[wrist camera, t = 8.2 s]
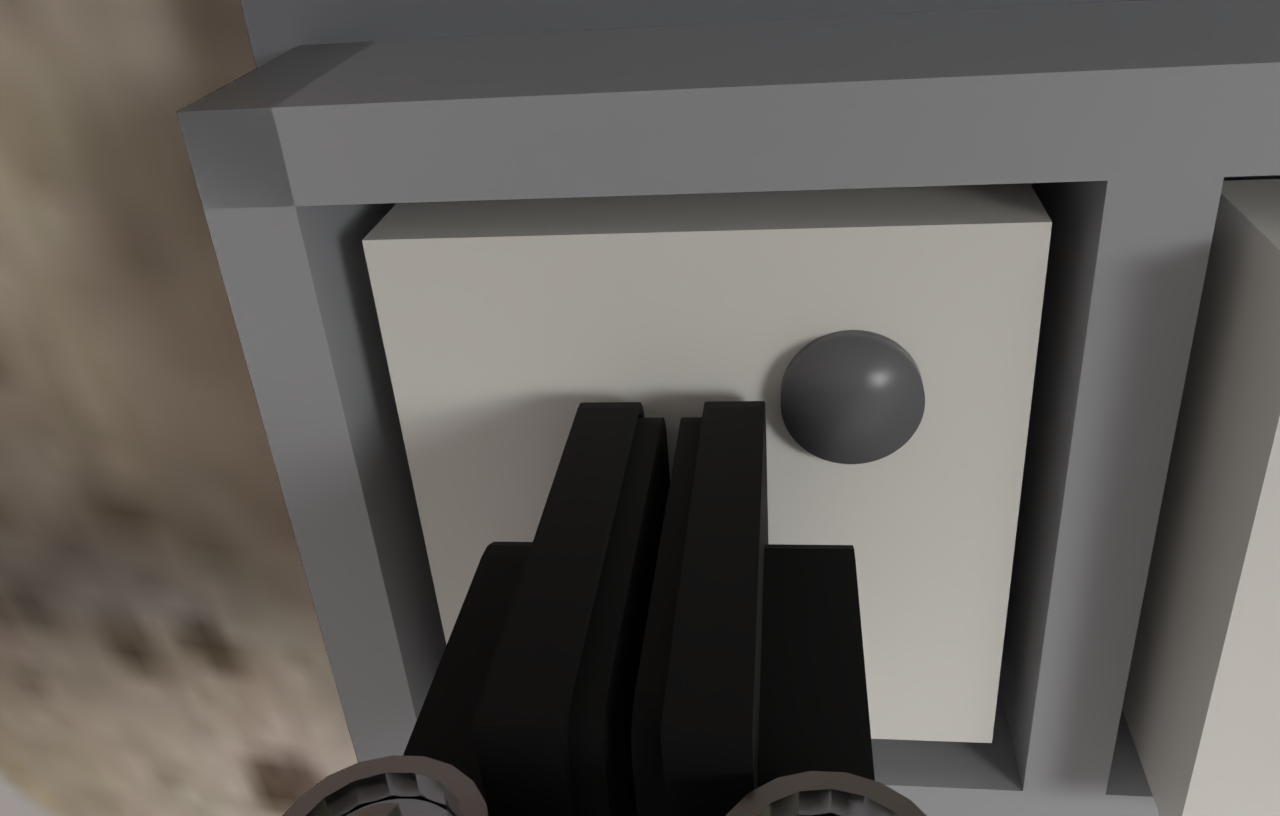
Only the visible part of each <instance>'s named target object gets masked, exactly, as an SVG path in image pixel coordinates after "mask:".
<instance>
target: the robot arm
mask: <svg viewBox="0 0 1280 816" xmlns="http://www.w3.org/2000/svg"><path fill="white" fill-rule="evenodd" d="M283 816H927V815H926V814H924V813H923V812H922V811H921V810H920V809H919V808H918V807H917V806H916V805H915V804H914V803H913V802H912V801H911V800H910V799H908V798H907V797H905V796H903V795H901V794H900V793H898V792H896V791H894V790H893V789H891V788H889V787H887V786H886V785H884V784H882V783H880V782H877V781H875V776H874V765H873V753H872V742H871V731H870V719H869V708H868V697H867V685H866V674H865V663H864V651H863V640H862V629H861V617H860V606H859V594H858V583H857V572H856V560H855V552H854V547H853V545H785V544H768V498H767V448H766V407H765V401H706V402H705V403H704V408H703V415H702V417H682V418H681V420H680V425H679V431H678V437H677V443H676V449H675V455H674V461H673V467H672V473H671V479H670V473H669V459H668V445H667V432H666V424H665V420H664V417H658V418H645V417H644V411H643V406H642V404H641V402H583V403H580V405H579V407H578V409H577V412H576V415H575V418H574V421H573V424H572V427H571V430H570V433H569V436H568V439H567V441H566V444H565V447H564V450H563V453H562V456H561V459H560V462H559V465H558V468H557V471H556V474H555V477H554V480H553V483H552V486H551V489H550V492H549V495H548V498H547V501H546V504H545V507H544V510H543V513H542V516H541V519H540V522H539V525H538V528H537V531H536V534H535V537H534V540H533V542H492V543H491V544H489V545H488V546H487V548H486V549H485V551H484V553H483V555H482V557H481V559H480V562H479V564H478V567H477V570H476V572H475V575H474V577H473V580H472V582H471V585H470V587H469V590H468V592H467V595H466V597H465V600H464V602H463V605H462V607H461V610H460V612H459V615H458V618H457V620H456V623H455V625H454V628H453V630H452V633H451V635H450V638H449V640H448V643H447V645H446V648H445V650H444V653H443V655H442V658H441V660H440V663H439V666H438V668H437V671H436V673H435V676H434V678H433V681H432V683H431V686H430V688H429V691H428V693H427V696H426V698H425V701H424V703H423V706H422V708H421V711H420V714H419V716H418V719H417V721H416V724H415V726H414V729H413V731H412V734H411V736H410V739H409V741H408V744H407V746H406V749H405V751H404V754H403V756H401V755H392V756H387V757H382V758H377V759H372V760H367V761H362V762H359V763H356V764H354V765H352V766H350V767H347V768H345V769H343V770H340V771H338V772H336V773H334V774H331V775H329V776H327V777H326V778H324V779H323V780H322V781H320V782H319V783H317V784H316V785H315V786H313V787H312V788H310V789H309V790H308V791H306V792H305V793H304V794H302V795H301V796H299V797H298V798H297V800H296V801H295V802H294V803H293V804H292V805H291V806H290V808H289V809H288V810H287V811H286V812H285V813H284V814H283Z"/></svg>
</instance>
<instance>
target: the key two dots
mask: <svg viewBox="0 0 1280 816" xmlns="http://www.w3.org/2000/svg"><path fill="white" fill-rule="evenodd" d="M1051 228H1052V221H1051V219H1050V217H1049V216H1048V214H1047V212H1046V210H1045V209H1044V207H1043V205H1042V203H1041V202H1040V200H1039V198H1038V197H1037V195H1036V193H1035V191H1034V190H1033V188H1032V186H1031V184H1030V183H1018V184H986V185H955V186H923V187H891V188H860V189H828V190H796V191H764V192H733V193H701V194H669V195H637V196H606V197H574V198H542V199H511V200H479V201H447V202H415V203H396V204H395V206H394V207H393V208H392V209H391V210H390V211H389V212H388V213H387V214H386V215H385V216H384V217H383V218H382V219H381V221H380V222H379V223H378V224H377V225H376V226H375V227H374V228H373V229H372V230H371V231H370V232H369V233H368V234H367V235H366V237H365V238H364V239H363V240H362V243H363V248H364V253H365V258H366V262H367V267H368V272H369V277H370V282H371V286H372V291H373V296H374V301H375V305H376V310H377V315H378V320H379V325H380V329H381V334H382V339H383V344H384V349H385V353H386V358H387V363H388V368H389V373H390V377H391V382H392V387H393V392H394V396H395V401H396V406H397V411H398V416H399V420H400V425H401V430H402V435H403V440H404V444H405V449H406V454H407V459H408V464H409V468H410V473H411V478H412V483H413V487H414V492H415V497H416V502H417V507H418V511H419V516H420V521H421V526H422V531H423V535H424V540H425V545H426V550H427V555H428V559H429V564H430V569H431V574H432V578H433V583H434V588H435V593H436V598H437V602H438V607H439V612H440V617H441V622H442V626H443V631H444V636H445V641H446V645H447V643H448V640H449V638H450V635H451V633H452V630H453V628H454V625H455V623H456V620H457V618H458V615H459V612H460V610H461V607H462V605H463V602H464V600H465V597H466V595H467V592H468V590H469V587H470V585H471V582H472V580H473V577H474V575H475V572H476V570H477V567H478V564H479V562H480V559H481V557H482V555H483V553H484V551H485V549H486V548H487V546H488V545H489V544H491V543H492V542H533V540H534V537H535V534H536V531H537V528H538V525H539V522H540V519H541V516H542V513H543V510H544V507H545V504H546V501H547V498H548V495H549V492H550V489H551V486H552V483H553V480H554V477H555V474H556V471H557V468H558V465H559V462H560V459H561V456H562V453H563V450H564V447H565V444H566V441H567V439H568V436H569V433H570V430H571V427H572V424H573V421H574V418H575V415H576V412H577V409H578V407H579V405H580V403H583V402H641V404H642V406H643V411H644V417H645V418H658V417H664V420H665V424H666V432H667V445H668V459H669V473H670V479H671V473H672V467H673V461H674V455H675V449H676V443H677V437H678V431H679V425H680V420H681V418H682V417H702V415H703V408H704V403H705V402H706V401H765V407H766V448H767V498H768V544H785V545H853V547H854V552H855V560H856V572H857V583H858V594H859V606H860V617H861V629H862V640H863V651H864V663H865V674H866V685H867V697H868V708H869V719H870V731H871V739H896V740H922V741H948V742H975V743H992V739H993V730H994V721H995V713H996V704H997V695H998V687H999V678H1000V669H1001V661H1002V652H1003V643H1004V635H1005V626H1006V617H1007V609H1008V600H1009V592H1010V583H1011V574H1012V566H1013V557H1014V548H1015V540H1016V531H1017V522H1018V514H1019V505H1020V496H1021V488H1022V479H1023V471H1024V462H1025V453H1026V445H1027V436H1028V427H1029V419H1030V410H1031V401H1032V393H1033V384H1034V375H1035V367H1036V358H1037V349H1038V341H1039V332H1040V324H1041V315H1042V306H1043V298H1044V289H1045V280H1046V272H1047V263H1048V254H1049V246H1050V237H1051Z"/></svg>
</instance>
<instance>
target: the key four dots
mask: <svg viewBox="0 0 1280 816" xmlns="http://www.w3.org/2000/svg"><path fill="white" fill-rule="evenodd" d="M1122 710H1123V713H1124V715H1125V718H1126V721H1127V724H1128V727H1129V730H1130V732H1131V735H1132V738H1133V741H1134V744H1135V747H1136V750H1137V752H1138V755H1139V758H1140V761H1141V764H1142V767H1143V769H1144V772H1145V775H1146V778H1147V781H1148V784H1149V787H1150V789H1151V792H1152V795H1153V798H1154V801H1155V804H1156V806H1157V809H1158V812H1159V815H1160V816H1280V179H1263V180H1231V181H1223V185H1222V190H1221V196H1220V201H1219V206H1218V211H1217V216H1216V222H1215V227H1214V232H1213V237H1212V243H1211V248H1210V253H1209V258H1208V263H1207V269H1206V274H1205V279H1204V284H1203V289H1202V295H1201V300H1200V305H1199V310H1198V315H1197V321H1196V326H1195V331H1194V336H1193V342H1192V347H1191V352H1190V357H1189V362H1188V368H1187V373H1186V378H1185V383H1184V388H1183V394H1182V399H1181V404H1180V409H1179V414H1178V420H1177V425H1176V430H1175V435H1174V440H1173V446H1172V451H1171V456H1170V461H1169V467H1168V472H1167V477H1166V482H1165V487H1164V493H1163V498H1162V503H1161V508H1160V513H1159V519H1158V524H1157V529H1156V534H1155V539H1154V545H1153V550H1152V555H1151V560H1150V566H1149V571H1148V576H1147V581H1146V586H1145V592H1144V597H1143V602H1142V607H1141V612H1140V618H1139V623H1138V628H1137V633H1136V638H1135V644H1134V649H1133V654H1132V659H1131V665H1130V670H1129V675H1128V680H1127V685H1126V691H1125V696H1124V701H1123V706H1122Z"/></svg>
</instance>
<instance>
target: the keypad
mask: <svg viewBox="0 0 1280 816" xmlns="http://www.w3.org/2000/svg"><path fill="white" fill-rule="evenodd" d="M240 2H241V6H242V10H243V14H244V18H245V23H246V27H247V31H248V35H249V39H250V43H251V48H252V52H253V56H254V60H255V64H256V69H255V70H253V71H251V72H249V73H247V74H246V75H244V76H242V77H240V78H238V79H236V80H235V81H233V82H231V83H229V84H227V85H225V86H223V87H222V88H220V89H218V90H216V91H214V92H212V93H210V94H209V95H207V96H205V97H203V98H201V99H199V100H198V101H196V102H194V103H192V104H190V105H188V106H186V107H185V108H183V109H181V110H179V111H177V112H176V113H177V117H178V120H179V124H180V128H181V131H182V135H183V138H184V142H185V145H186V149H187V153H188V156H189V160H190V163H191V167H192V171H193V174H194V178H195V181H196V185H197V188H198V192H199V196H200V199H201V203H202V206H203V210H204V213H205V217H206V221H207V224H208V228H209V231H210V235H211V238H212V242H213V246H214V249H215V253H216V256H217V260H218V264H219V267H220V271H221V274H222V278H223V281H224V285H225V289H226V292H227V296H228V299H229V303H230V306H231V310H232V314H233V317H234V321H235V324H236V328H237V332H238V335H239V339H240V342H241V346H242V349H243V353H244V357H245V360H246V364H247V367H248V371H249V374H250V378H251V382H252V385H253V389H254V392H255V396H256V400H257V403H258V407H259V410H260V414H261V417H262V421H263V425H264V428H265V432H266V435H267V439H268V442H269V446H270V450H271V453H272V457H273V460H274V464H275V467H276V471H277V475H278V478H279V482H280V485H281V489H282V493H283V496H284V500H285V503H286V507H287V510H288V514H289V518H290V521H291V525H292V528H293V532H294V535H295V539H296V543H297V546H298V550H299V553H300V557H301V561H302V564H303V568H304V571H305V575H306V578H307V582H308V586H309V589H310V593H311V596H312V600H313V603H314V607H315V611H316V614H317V618H318V621H319V625H320V629H321V632H322V636H323V639H324V643H325V646H326V650H327V654H328V657H329V661H330V664H331V668H332V671H333V675H334V679H335V682H336V686H337V689H338V693H339V697H340V700H341V704H342V707H343V711H344V714H345V718H346V722H347V725H348V729H349V732H350V736H351V739H352V743H353V747H354V750H355V754H356V757H357V761H358V763H359V762H362V761H367V760H372V759H377V758H382V757H387V756H392V755H401V756H403V754H404V751H405V749H406V746H407V744H408V741H409V739H410V736H411V734H412V731H413V729H414V726H415V724H416V721H417V719H418V716H419V714H420V711H421V708H422V706H423V703H424V701H425V698H426V696H427V693H428V691H429V688H430V686H431V683H432V681H433V678H434V676H435V673H436V671H437V668H438V666H439V663H440V660H441V658H442V655H443V653H444V650H445V648H446V641H445V636H444V631H443V626H442V622H441V617H440V612H439V607H438V602H437V598H436V593H435V588H434V583H433V578H432V574H431V569H430V564H429V559H428V555H427V550H426V545H425V540H424V535H423V531H422V526H421V521H420V516H419V511H418V507H417V502H416V497H415V492H414V487H413V483H412V478H411V473H410V468H409V464H408V459H407V454H406V449H405V444H404V440H403V435H402V430H401V425H400V420H399V416H398V411H397V406H396V401H395V396H394V392H393V387H392V382H391V377H390V373H389V368H388V363H387V358H386V353H385V349H384V344H383V339H382V334H381V329H380V325H379V320H378V315H377V310H376V305H375V301H374V296H373V291H372V286H371V282H370V277H369V272H368V267H367V262H366V258H365V253H364V248H363V243H362V240H363V239H364V238H365V237H366V235H367V234H368V233H369V232H370V231H371V230H372V229H373V228H374V227H375V226H376V225H377V224H378V223H379V222H380V221H381V219H382V218H383V217H384V216H385V215H386V214H387V213H388V212H389V211H390V210H391V209H392V208H393V207H394V206H395V204H396V203H415V202H447V201H479V200H511V199H542V198H574V197H606V196H637V195H669V194H701V193H733V192H764V191H796V190H828V189H860V188H891V187H923V186H955V185H986V184H1018V183H1030V184H1031V186H1032V188H1033V190H1034V191H1035V193H1036V195H1037V197H1038V198H1039V200H1040V202H1041V203H1042V205H1043V207H1044V209H1045V210H1046V212H1047V214H1048V216H1049V217H1050V219H1051V221H1052V228H1051V237H1050V246H1049V254H1048V263H1047V272H1046V280H1045V289H1044V298H1043V306H1042V315H1041V324H1040V332H1039V341H1038V349H1037V358H1036V367H1035V375H1034V384H1033V393H1032V401H1031V410H1030V419H1029V427H1028V436H1027V445H1026V453H1025V462H1024V471H1023V479H1022V488H1021V496H1020V505H1019V514H1018V522H1017V531H1016V540H1015V548H1014V557H1013V566H1012V574H1011V583H1010V592H1009V600H1008V609H1007V617H1006V626H1005V635H1004V643H1003V652H1002V661H1001V669H1000V678H999V687H998V695H997V704H996V713H995V721H994V730H993V739H992V743H975V742H948V741H922V740H896V739H871V742H872V753H873V765H874V776H875V781H877V782H880V783H882V784H884V785H886V786H887V787H889V788H891V789H893V790H894V791H896V792H898V793H900V794H901V795H903V796H905V797H907V798H908V799H910V800H911V801H912V802H913V803H914V804H915V805H916V806H917V807H918V808H919V809H920V810H921V811H922V812H923V813H924V814H926V815H927V816H1160V815H1159V812H1158V809H1157V806H1156V804H1155V801H1154V798H1153V795H1152V792H1151V789H1150V787H1149V784H1148V781H1147V778H1146V775H1145V772H1144V769H1143V767H1142V764H1141V761H1140V758H1139V755H1138V752H1137V750H1136V747H1135V744H1134V741H1133V738H1132V735H1131V732H1130V730H1129V727H1128V724H1127V721H1126V718H1125V715H1124V713H1123V710H1122V706H1123V701H1124V696H1125V691H1126V685H1127V680H1128V675H1129V670H1130V665H1131V659H1132V654H1133V649H1134V644H1135V638H1136V633H1137V628H1138V623H1139V618H1140V612H1141V607H1142V602H1143V597H1144V592H1145V586H1146V581H1147V576H1148V571H1149V566H1150V560H1151V555H1152V550H1153V545H1154V539H1155V534H1156V529H1157V524H1158V519H1159V513H1160V508H1161V503H1162V498H1163V493H1164V487H1165V482H1166V477H1167V472H1168V467H1169V461H1170V456H1171V451H1172V446H1173V440H1174V435H1175V430H1176V425H1177V420H1178V414H1179V409H1180V404H1181V399H1182V394H1183V388H1184V383H1185V378H1186V373H1187V368H1188V362H1189V357H1190V352H1191V347H1192V342H1193V336H1194V331H1195V326H1196V321H1197V315H1198V310H1199V305H1200V300H1201V295H1202V289H1203V284H1204V279H1205V274H1206V269H1207V263H1208V258H1209V253H1210V248H1211V243H1212V237H1213V232H1214V227H1215V222H1216V216H1217V211H1218V206H1219V201H1220V196H1221V190H1222V185H1223V181H1231V180H1263V179H1280V0H240Z"/></svg>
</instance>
